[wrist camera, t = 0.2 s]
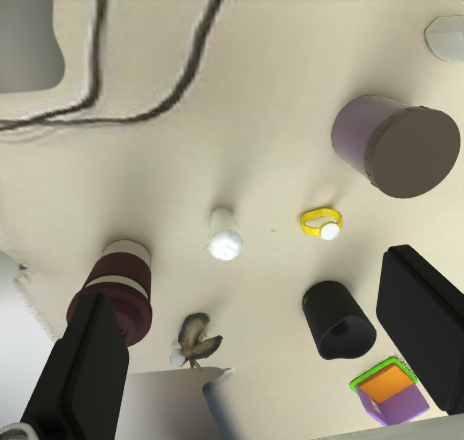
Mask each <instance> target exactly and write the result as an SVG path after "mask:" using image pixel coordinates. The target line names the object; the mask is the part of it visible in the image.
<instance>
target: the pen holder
mask: <svg viewBox="0 0 464 440" xmlns="http://www.w3.org/2000/svg"><path fill="white" fill-rule="evenodd" d="M302 307H303V311H304V314H305V316H306V319H307V322H308V325H309V328H310V330H311V333H312V336H313V338H314V341H315V344H316V347H317V349H318V352H319V354H320V356H321V357H322V358H324V359H326V360H332V359H337V358H344V359H355V358H359V357H361V356H363V355H364V354H366V353H367V352H368V351H369V350H370V349H371V348H372V347H373V345H374V343H375V341H376V336H377V334H376V330H375V328H374V326H373V325H372V323H371V322H370V321H369V319H368V318H367V316H366V315H365V314H364V312H363V311H362V309H361V308H360V307H359V305H358V304H357V302H356V301H355V299H354V298H353V297H352V295H351V294H350V293H349V291H348V290H347V289H346V288H345V287H344V286H343V285H342V284H340V283H337V282H323V283H319V284H317V285H315V286H314V287H312V288H311V289H310V290H309V291H308V292H307V293H306V295H305V296H304V298H303V302H302Z"/></svg>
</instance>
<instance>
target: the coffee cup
mask: <svg viewBox="0 0 464 440" xmlns="http://www.w3.org/2000/svg"><path fill="white" fill-rule="evenodd" d="M150 264H151V259H150V256H149V253H148V251H147V250H146V249H145V248H144V247H143V246H142V245H140V244H139V243H136V242H134V241H129V240H121V241H117V242H114V243H112V244H111V245H109V246H108V247H107V248H106V249H105V250H104V252H103V254H102V256H101V258H100V259H99V260H98V261H97V262H96V264H95V265H94V267H93V269H92V271H91V273H90V274H89V276H88V278H87V280H86V282H85V284H84V285H83V287H82V289H81V290H80V291H79V292H78V293H77V294H76V295H75V296H74V298H73V299H72V301H71V303H70V305H69V308H68V311H67V316H66V319H67V324H69V321H70V319H71V317H72V315H73V312H74V310H75V308H76V305H77V303H78V301H79V298H80V296H81V295H82V294H83V293H89V292H96V291H101V292H102V293H103V295H105V294H107V295H108V296H109V298H110V300H111V303H112V306H113V309H114V312H115V314H116V317H117V320H118V323H119V326H120V329H121V331H122V334H123V337H124V340H125V343H126V346H127V347H129V346H132V345H134V344H136V343H138V342H139V341H141V340H142V339H143V338H144V337H145V336H146V335H147V333H148V332H149V330H150V327H151V323H152V307H151V304H150V297H151V271H150Z"/></svg>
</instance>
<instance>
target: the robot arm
mask: <svg viewBox="0 0 464 440" xmlns="http://www.w3.org/2000/svg"><path fill="white" fill-rule="evenodd" d="M376 315H377V318H378V320H379V322H380V324H381V325H382V326H383V328H384V329H385V331H386V332H387V334H388V335H389V337H390V338H391V340H392V341H393V342H394V344H395V345H396V347H397V348H398V350H399V351H400V353H401V354H402V356H403V357H404V358H405V360H406V361H407V363H408V364H409V366H410V367H411V369H412V370H413V372H414V373H415V374H416V376H417V377H418V379H419V380H420V382H421V383H422V385H423V386H424V388H425V389H426V390H427V392H428V393H429V395H430V396H431V398H432V399H433V401H434V402H435V404H436V405H437V406H438V408H439V409H441V410H442V411H446V412H447V414H448V415H449V416H444V417H437V418H431V419H426V420H420V421H414V422H408V423H403V424H397V425H391V426H385V427H380V428H374V429H368V430H363V431H357V432H351V433H346V434H340V435H335V436H329V437H323V438H318V439H312V440H464V294H463V293H462V292H460V291H459V290H458V289H457V288H456V287H455V286H454V285H453V284H452V283H451V282H449V281H448V280H447V279H446V278H445V277H444V276H443V275H442V274H441V273H440V272H438V271H437V270H436V269H435V268H434V267H433V266H432V265H431V264H430V263H429V262H427V261H426V260H425V259H424V258H423V257H422V256H421V255H420V254H419V253H418V252H416V251H415V250H414V249H413V248H412V247H411V246H410V245H407V244H405V245H399V246H392V247H389V249H388V251H387V252H385V253H384V255H383V262H382V269H381V277H380V285H379V292H378V300H377V307H376ZM128 365H129V352H128V348H127V346H126V343H125V340H124V337H123V334H122V331H121V329H120V326H119V323H118V320H117V317H116V314H115V312H114V309H113V306H112V303H111V300H110V298H109V296H108V295H107V294H105V295H103V293H102V292H101V291H96V292H89V293H83V294H82V295H81V296H80V298H79V301H78V303H77V305H76V308H75V310H74V312H73V315H72V317H71V319H70V321H69V324H68V326H67V328H66V331H65V333H64V335H63V338H61V339H59V340H57V341H56V343H55V345H54V347H53V349H52V351H51V353H50V356H49V358H48V360H47V363H46V365H45V367H44V369H43V371H42V374H41V376H40V378H39V380H38V382H37V385H36V387H35V389H34V391H33V394H32V396H31V398H30V400H29V402H28V404H27V407H26V409H25V412H24V413H23V416H22V418H21V420H20V422H19V423H12V424H9V425H7V426H4V427H2V428H0V440H114V439H115V433H116V428H117V422H118V418H119V412H120V407H121V402H122V396H123V391H124V385H125V381H126V375H127V370H128Z"/></svg>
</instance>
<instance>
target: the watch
mask: <svg viewBox="0 0 464 440" xmlns="http://www.w3.org/2000/svg"><path fill="white" fill-rule="evenodd" d="M322 216H326V217H333V218H335V219H337V220H338V222H336V223H335V222H332V221H329V222H325V223H324V224H322V226H321V227H320V228H313V227H310V226H307V225H306V224H305V223H306V222H307V221H308V220H312V219H315V218H318V217H322ZM300 222H301V229H302V230H303V231H304V232H305V233H306V234H308V235H311V236H321V237H322V238H323V239H324V240H331V239H334V238H335V237H336V236H337V235H338V233H339V230H340V229H341V228H342V224H343V221H342V215H341V214H340V213H339V212H338V211H336V210H334V209H330V208H321V209H318V210H314V211H311V212H306V213H305V214H304V215H303V216H302V217H301V221H300Z"/></svg>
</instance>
